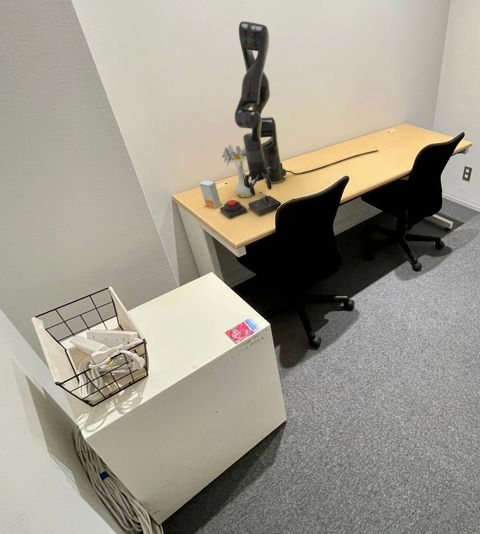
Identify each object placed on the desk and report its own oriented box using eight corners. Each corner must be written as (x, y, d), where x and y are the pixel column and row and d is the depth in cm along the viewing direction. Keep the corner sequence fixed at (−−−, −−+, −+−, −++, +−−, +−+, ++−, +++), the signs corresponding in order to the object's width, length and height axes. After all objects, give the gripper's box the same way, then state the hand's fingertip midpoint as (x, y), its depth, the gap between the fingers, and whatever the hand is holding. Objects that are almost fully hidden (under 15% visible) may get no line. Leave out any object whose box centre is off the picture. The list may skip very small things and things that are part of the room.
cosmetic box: (205, 206, 161) (198, 183, 153) (211, 202, 164) (204, 179, 156) (215, 208, 159) (209, 185, 152) (221, 204, 162) (215, 181, 155)
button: (234, 202, 157) (233, 198, 156) (238, 205, 154) (238, 202, 153) (225, 205, 154) (224, 201, 153) (230, 208, 152) (229, 205, 151)
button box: (237, 205, 161) (236, 198, 159) (247, 212, 157) (245, 204, 154) (220, 211, 157) (218, 204, 154) (230, 218, 152) (227, 211, 149)
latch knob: (269, 204, 157) (267, 195, 154) (266, 205, 156) (264, 196, 153) (262, 200, 160) (261, 191, 157) (260, 201, 159) (258, 192, 156)
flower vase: (246, 185, 179) (236, 138, 164) (265, 196, 169) (256, 147, 154) (224, 192, 172) (211, 144, 156) (242, 204, 162) (231, 154, 146)
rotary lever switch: (270, 200, 166) (269, 195, 164) (281, 207, 160) (280, 202, 158) (249, 208, 159) (248, 202, 157) (260, 216, 154) (259, 210, 152)
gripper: (245, 165, 138) (252, 199, 149) (274, 156, 146) (278, 190, 156) (236, 160, 142) (244, 193, 153) (265, 152, 150) (270, 184, 160)
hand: (261, 191), depth 155 cm, fingers open, 8 cm apart
